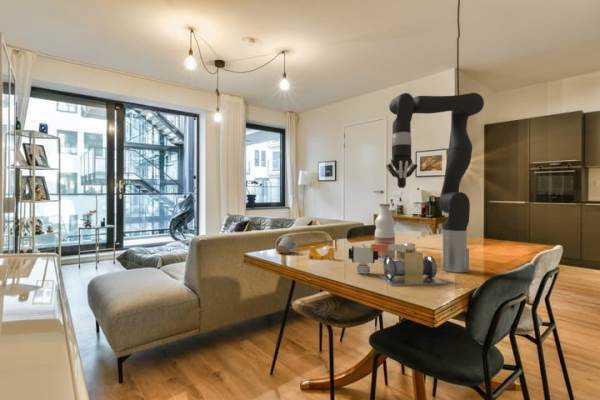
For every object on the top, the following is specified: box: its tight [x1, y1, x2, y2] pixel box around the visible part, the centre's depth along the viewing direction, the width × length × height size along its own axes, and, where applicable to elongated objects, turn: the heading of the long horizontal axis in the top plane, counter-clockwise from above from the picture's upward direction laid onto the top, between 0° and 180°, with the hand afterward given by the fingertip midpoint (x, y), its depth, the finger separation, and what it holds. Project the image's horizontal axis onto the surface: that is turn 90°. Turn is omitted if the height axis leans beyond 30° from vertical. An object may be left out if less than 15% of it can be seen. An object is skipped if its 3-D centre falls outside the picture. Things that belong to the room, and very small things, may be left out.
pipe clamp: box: [308, 245, 335, 261], centre depth 157 cm, size 12×4×6 cm, turn 67°
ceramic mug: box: [276, 236, 299, 254], centre depth 170 cm, size 11×8×8 cm
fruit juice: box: [374, 203, 396, 264], centre depth 153 cm, size 9×9×28 cm
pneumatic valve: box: [348, 243, 378, 275], centre depth 129 cm, size 6×12×12 cm, turn 79°
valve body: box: [378, 249, 448, 287], centre depth 117 cm, size 20×13×11 cm, turn 97°
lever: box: [370, 242, 416, 251], centre depth 118 cm, size 4×16×2 cm, turn 92°
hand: (401, 187), depth 128 cm, fingers closed
